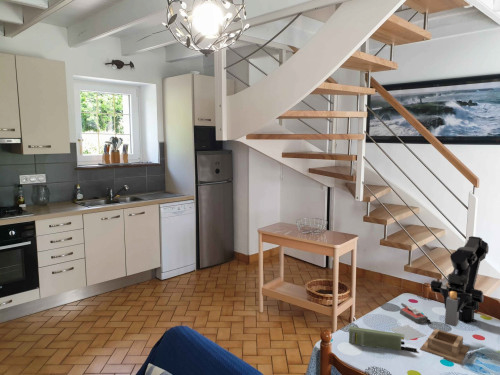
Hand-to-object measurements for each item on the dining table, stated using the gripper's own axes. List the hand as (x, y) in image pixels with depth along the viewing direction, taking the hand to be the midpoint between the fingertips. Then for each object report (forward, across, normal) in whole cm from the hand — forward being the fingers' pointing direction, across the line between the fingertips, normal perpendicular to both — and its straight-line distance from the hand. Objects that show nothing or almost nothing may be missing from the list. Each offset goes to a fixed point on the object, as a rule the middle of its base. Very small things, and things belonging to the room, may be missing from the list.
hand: (451, 310), depth 152 cm
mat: (+12, -15, +7) cm, 21 cm away
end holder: (+15, 0, +4) cm, 15 cm away
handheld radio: (+25, -19, -5) cm, 32 cm away
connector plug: (+3, 0, +5) cm, 6 cm away
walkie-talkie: (-1, -20, +21) cm, 29 cm away
